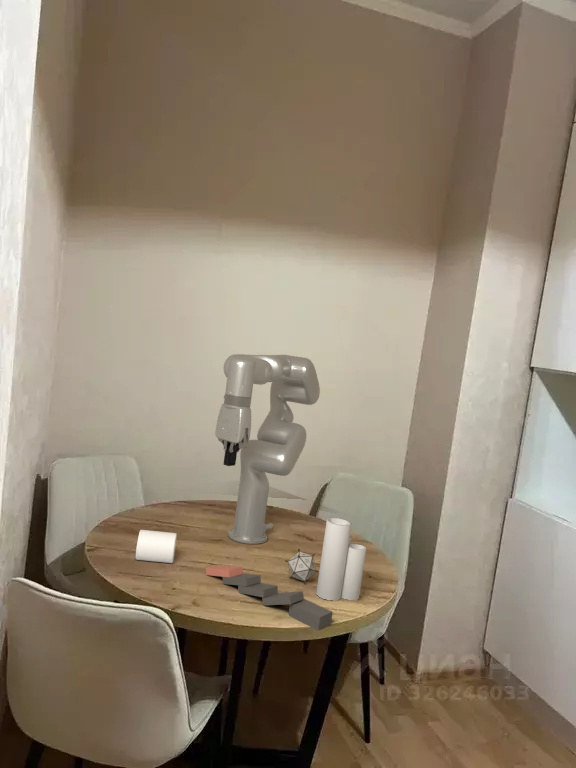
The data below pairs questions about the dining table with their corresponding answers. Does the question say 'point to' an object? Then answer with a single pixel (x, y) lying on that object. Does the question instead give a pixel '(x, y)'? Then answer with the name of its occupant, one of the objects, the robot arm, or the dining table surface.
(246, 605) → the dining table surface
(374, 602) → the dining table surface
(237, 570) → the red tile
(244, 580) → the black tile
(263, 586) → the dark gray domino tile
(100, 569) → the dining table surface
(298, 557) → the game die
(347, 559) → the vase
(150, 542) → the mug
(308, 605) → the black tile
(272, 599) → the black tile
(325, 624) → the grey domino block
